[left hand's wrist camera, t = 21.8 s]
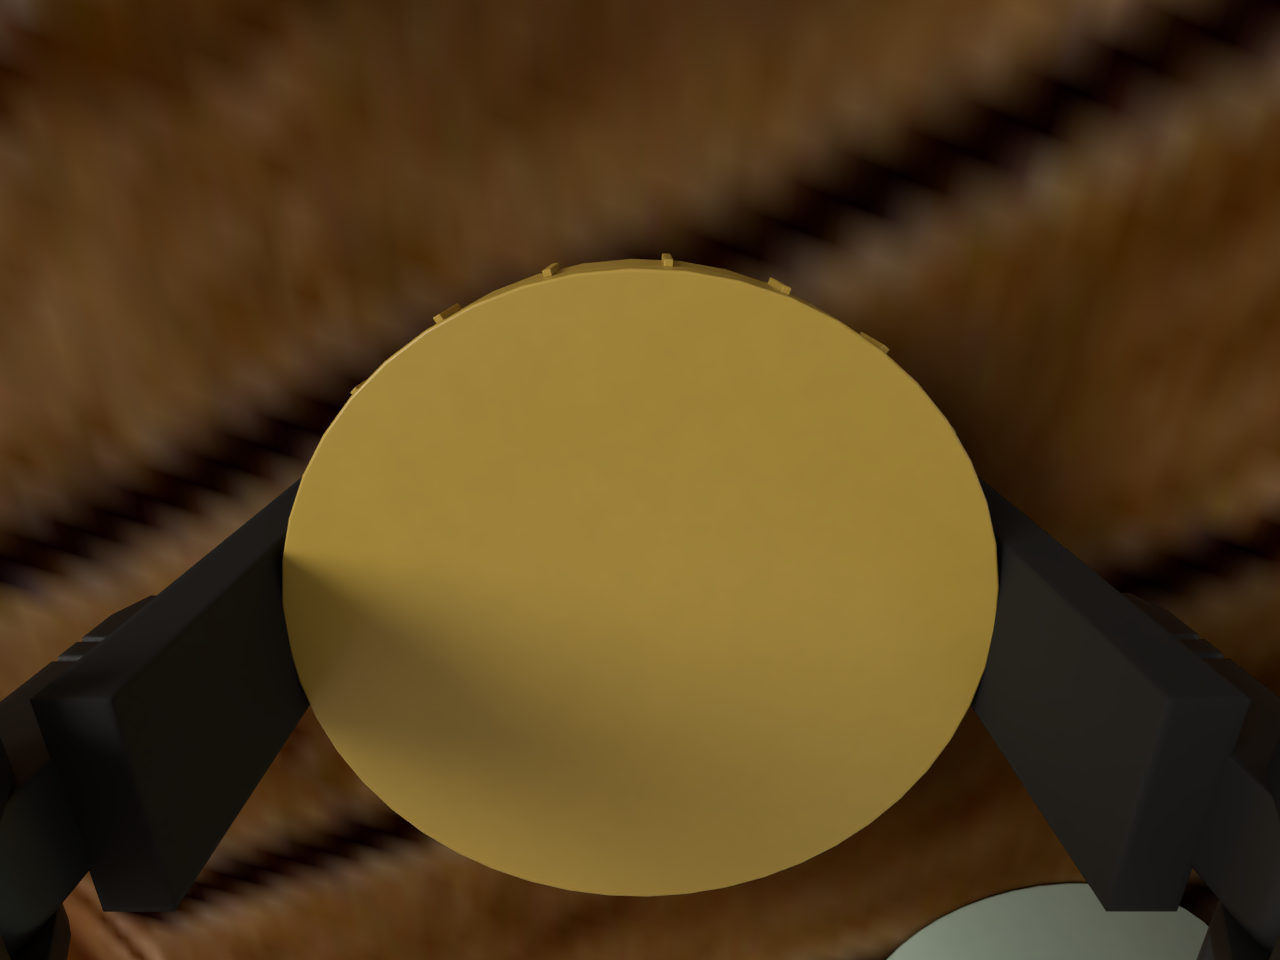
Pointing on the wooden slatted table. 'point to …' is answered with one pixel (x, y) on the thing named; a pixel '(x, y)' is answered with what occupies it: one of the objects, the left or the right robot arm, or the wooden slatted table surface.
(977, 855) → the wooden slatted table surface
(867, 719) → the lid
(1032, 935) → the jar
